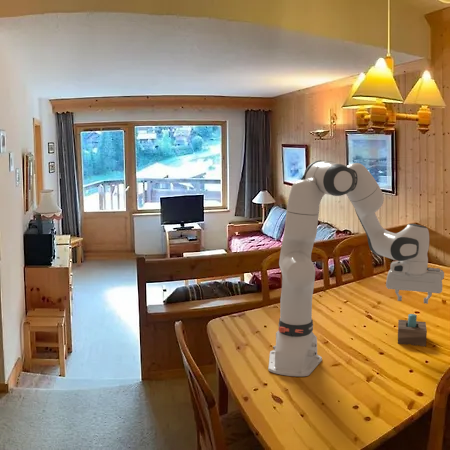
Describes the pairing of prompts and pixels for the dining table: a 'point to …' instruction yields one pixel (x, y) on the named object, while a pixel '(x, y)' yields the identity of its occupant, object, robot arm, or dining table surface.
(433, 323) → the dining table surface
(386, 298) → the dining table surface
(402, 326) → the walnut hole block
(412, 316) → the teal peg
